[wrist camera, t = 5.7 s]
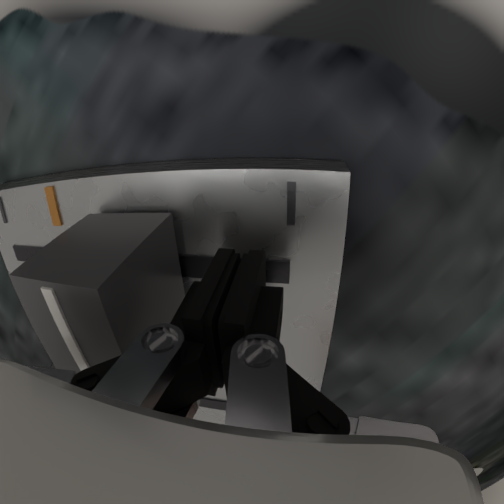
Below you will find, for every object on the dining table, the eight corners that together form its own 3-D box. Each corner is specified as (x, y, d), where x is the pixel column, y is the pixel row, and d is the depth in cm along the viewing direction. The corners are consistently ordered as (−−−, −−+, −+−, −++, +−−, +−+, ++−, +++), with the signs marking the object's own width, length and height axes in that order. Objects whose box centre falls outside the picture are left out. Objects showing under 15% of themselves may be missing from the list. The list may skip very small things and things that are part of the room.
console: (304, 440, 22) (302, 462, 20) (97, 401, 25) (88, 417, 23) (343, 160, 11) (351, 173, 10) (4, 182, 15) (-18, 194, 13)
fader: (189, 318, 13) (145, 409, 9) (116, 307, 14) (62, 381, 10) (172, 212, 11) (94, 291, 7) (89, 213, 12) (6, 276, 7)
